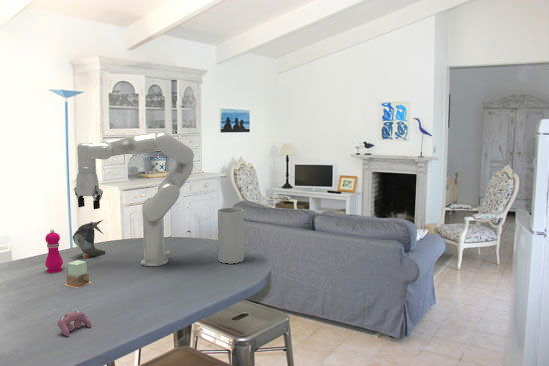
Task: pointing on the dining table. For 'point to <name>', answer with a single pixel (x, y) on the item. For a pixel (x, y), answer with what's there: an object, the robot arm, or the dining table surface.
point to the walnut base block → (77, 280)
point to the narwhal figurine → (87, 239)
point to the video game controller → (73, 316)
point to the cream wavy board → (78, 286)
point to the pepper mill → (53, 253)
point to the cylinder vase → (230, 235)
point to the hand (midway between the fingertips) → (89, 207)
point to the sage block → (77, 268)
